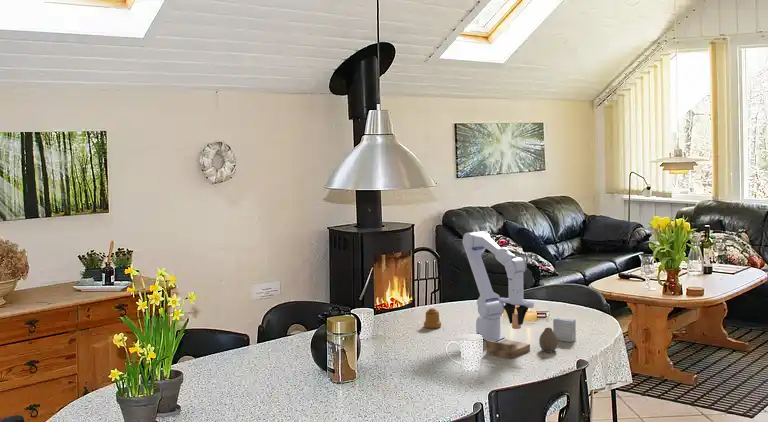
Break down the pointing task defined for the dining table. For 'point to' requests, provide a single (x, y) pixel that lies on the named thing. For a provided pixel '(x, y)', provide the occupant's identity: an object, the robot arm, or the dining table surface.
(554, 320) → the medicine box
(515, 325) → the peach rounded cylinder
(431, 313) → the ornamental finial
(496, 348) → the brown wooden box
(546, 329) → the vase
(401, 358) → the dining table surface
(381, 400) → the dining table surface
